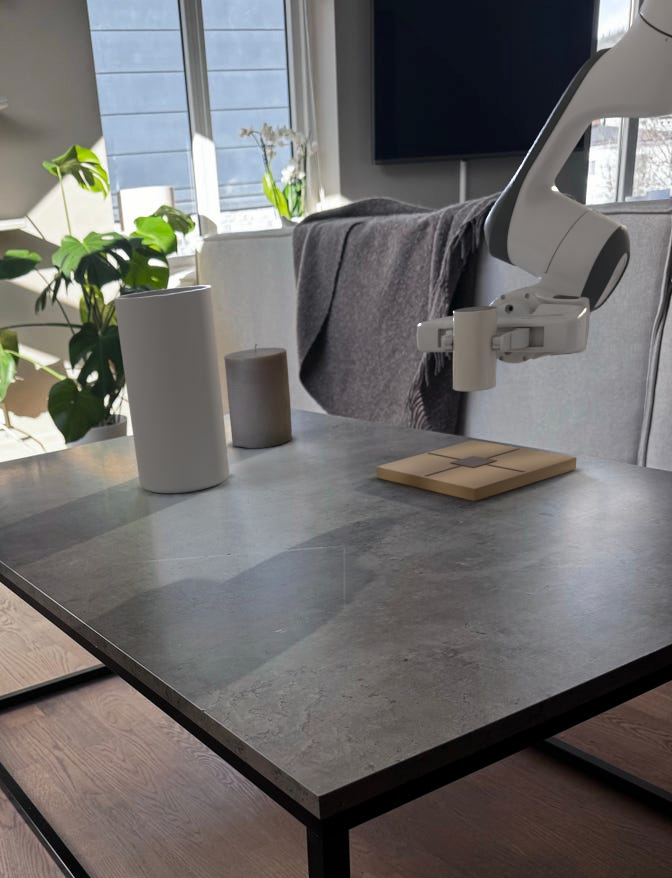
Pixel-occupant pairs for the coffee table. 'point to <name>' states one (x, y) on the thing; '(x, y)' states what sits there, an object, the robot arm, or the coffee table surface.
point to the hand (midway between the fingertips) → (472, 344)
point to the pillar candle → (259, 397)
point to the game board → (475, 469)
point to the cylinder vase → (173, 388)
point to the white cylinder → (474, 348)
